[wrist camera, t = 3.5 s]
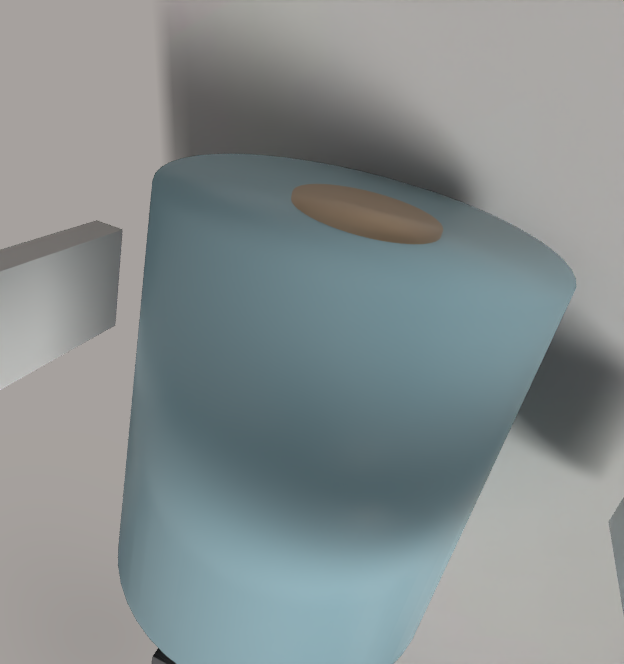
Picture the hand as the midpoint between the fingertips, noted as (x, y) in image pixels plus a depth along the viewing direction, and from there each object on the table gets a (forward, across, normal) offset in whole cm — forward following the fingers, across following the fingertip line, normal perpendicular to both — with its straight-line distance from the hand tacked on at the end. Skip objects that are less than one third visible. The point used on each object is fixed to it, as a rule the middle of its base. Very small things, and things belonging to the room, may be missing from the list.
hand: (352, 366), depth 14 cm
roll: (+1, 0, 0) cm, 1 cm away
